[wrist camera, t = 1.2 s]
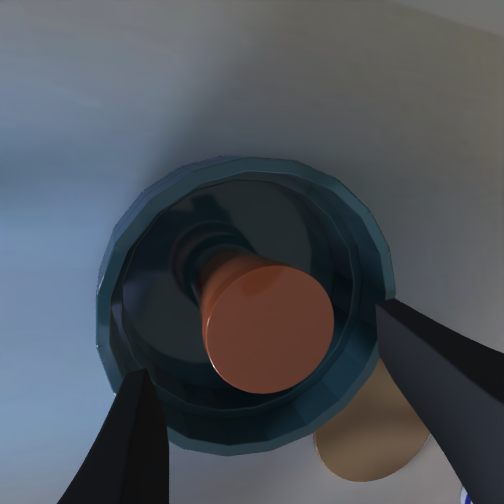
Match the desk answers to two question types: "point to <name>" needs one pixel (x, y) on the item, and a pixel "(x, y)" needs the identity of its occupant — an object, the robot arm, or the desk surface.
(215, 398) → the bowl
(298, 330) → the flower pot
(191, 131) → the desk surface
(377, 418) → the coaster
